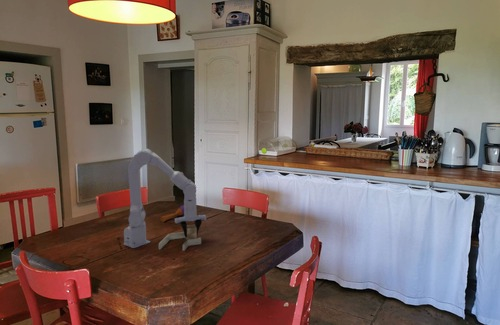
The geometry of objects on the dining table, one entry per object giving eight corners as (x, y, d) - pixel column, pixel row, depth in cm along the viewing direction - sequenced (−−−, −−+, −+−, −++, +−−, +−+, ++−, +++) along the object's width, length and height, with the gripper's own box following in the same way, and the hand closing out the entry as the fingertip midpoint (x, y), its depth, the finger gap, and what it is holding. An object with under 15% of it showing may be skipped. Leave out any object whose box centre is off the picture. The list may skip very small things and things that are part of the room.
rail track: (174, 255, 155) (173, 248, 154) (149, 246, 165) (149, 240, 164) (210, 240, 172) (210, 234, 172) (186, 233, 182) (185, 227, 182)
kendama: (157, 214, 202) (182, 204, 218) (159, 224, 202) (185, 213, 218) (164, 214, 198) (189, 203, 214) (166, 224, 199) (192, 213, 215)
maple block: (187, 241, 169) (187, 228, 168) (185, 237, 173) (185, 225, 172) (196, 239, 170) (196, 227, 169) (194, 236, 174) (194, 224, 173)
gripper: (176, 211, 163) (177, 240, 165) (207, 208, 168) (208, 236, 170) (173, 207, 169) (174, 235, 171) (203, 204, 175) (204, 231, 177)
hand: (190, 235), depth 171 cm, fingers closed on maple block, 4 cm apart
